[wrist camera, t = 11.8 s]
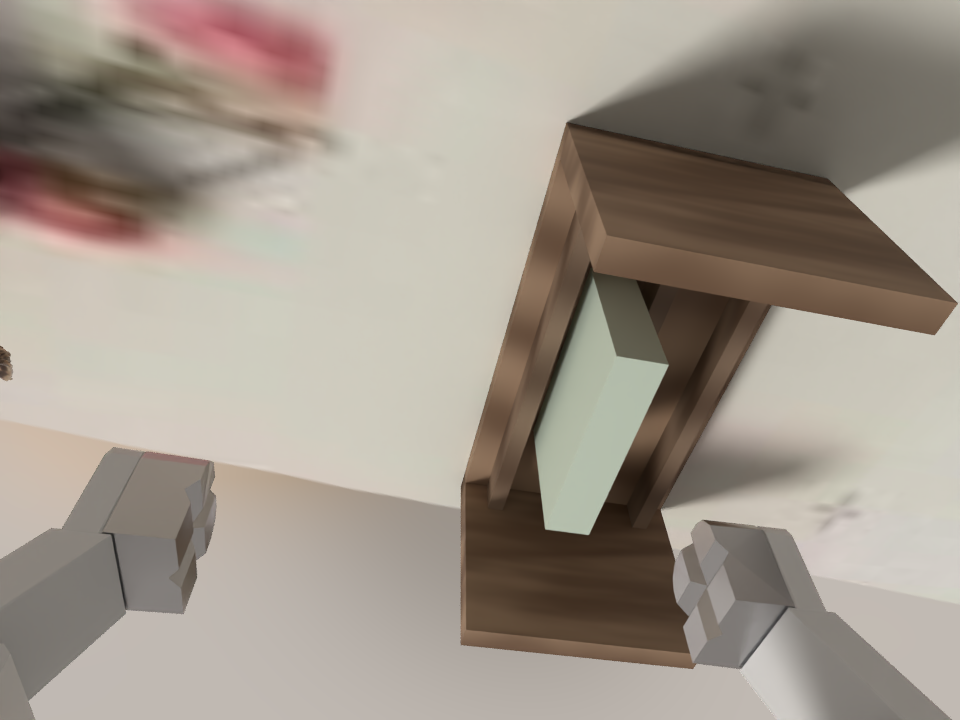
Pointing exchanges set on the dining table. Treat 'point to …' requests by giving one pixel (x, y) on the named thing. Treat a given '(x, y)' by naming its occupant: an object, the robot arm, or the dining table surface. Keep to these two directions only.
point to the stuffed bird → (5, 365)
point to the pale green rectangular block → (596, 401)
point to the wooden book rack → (684, 387)
